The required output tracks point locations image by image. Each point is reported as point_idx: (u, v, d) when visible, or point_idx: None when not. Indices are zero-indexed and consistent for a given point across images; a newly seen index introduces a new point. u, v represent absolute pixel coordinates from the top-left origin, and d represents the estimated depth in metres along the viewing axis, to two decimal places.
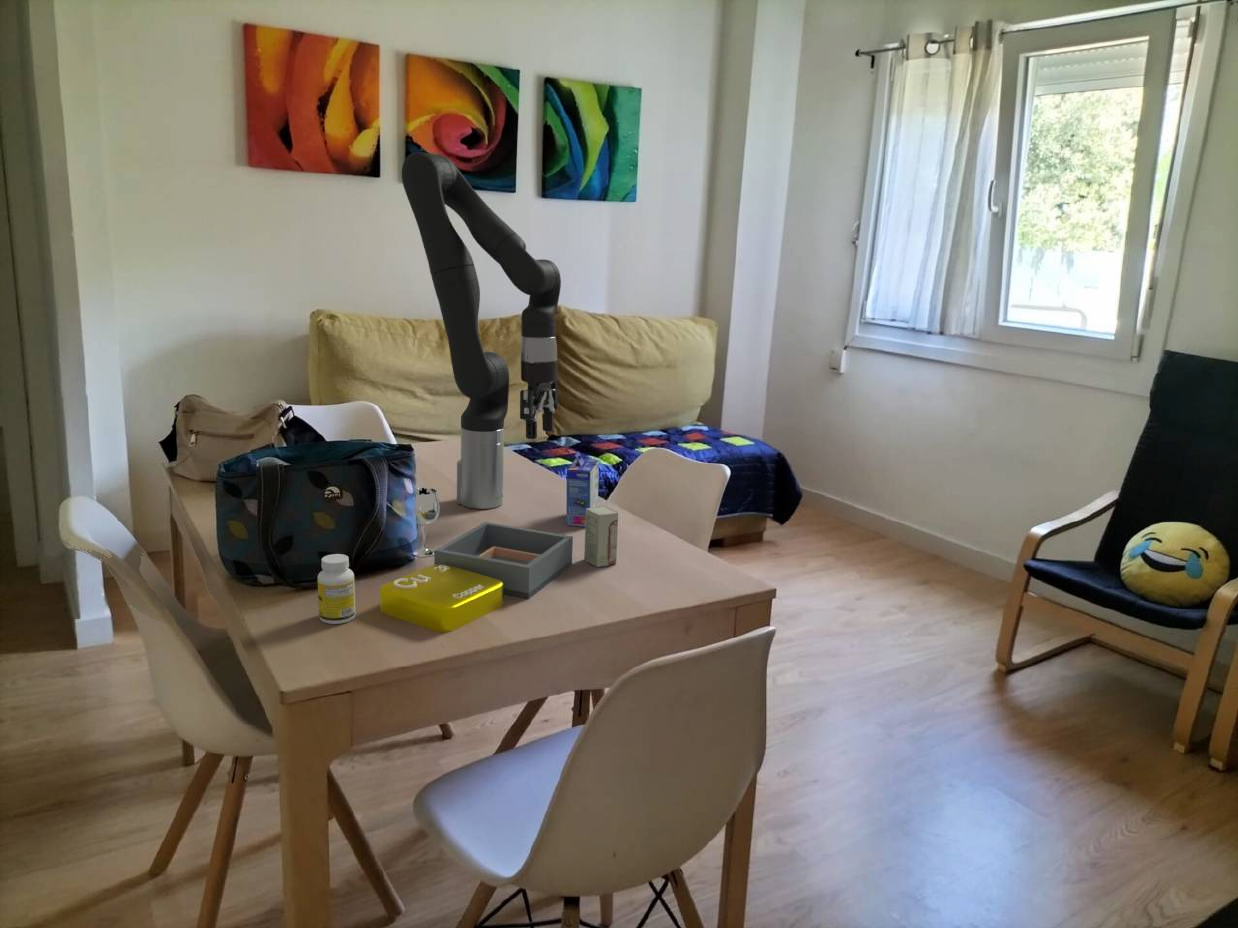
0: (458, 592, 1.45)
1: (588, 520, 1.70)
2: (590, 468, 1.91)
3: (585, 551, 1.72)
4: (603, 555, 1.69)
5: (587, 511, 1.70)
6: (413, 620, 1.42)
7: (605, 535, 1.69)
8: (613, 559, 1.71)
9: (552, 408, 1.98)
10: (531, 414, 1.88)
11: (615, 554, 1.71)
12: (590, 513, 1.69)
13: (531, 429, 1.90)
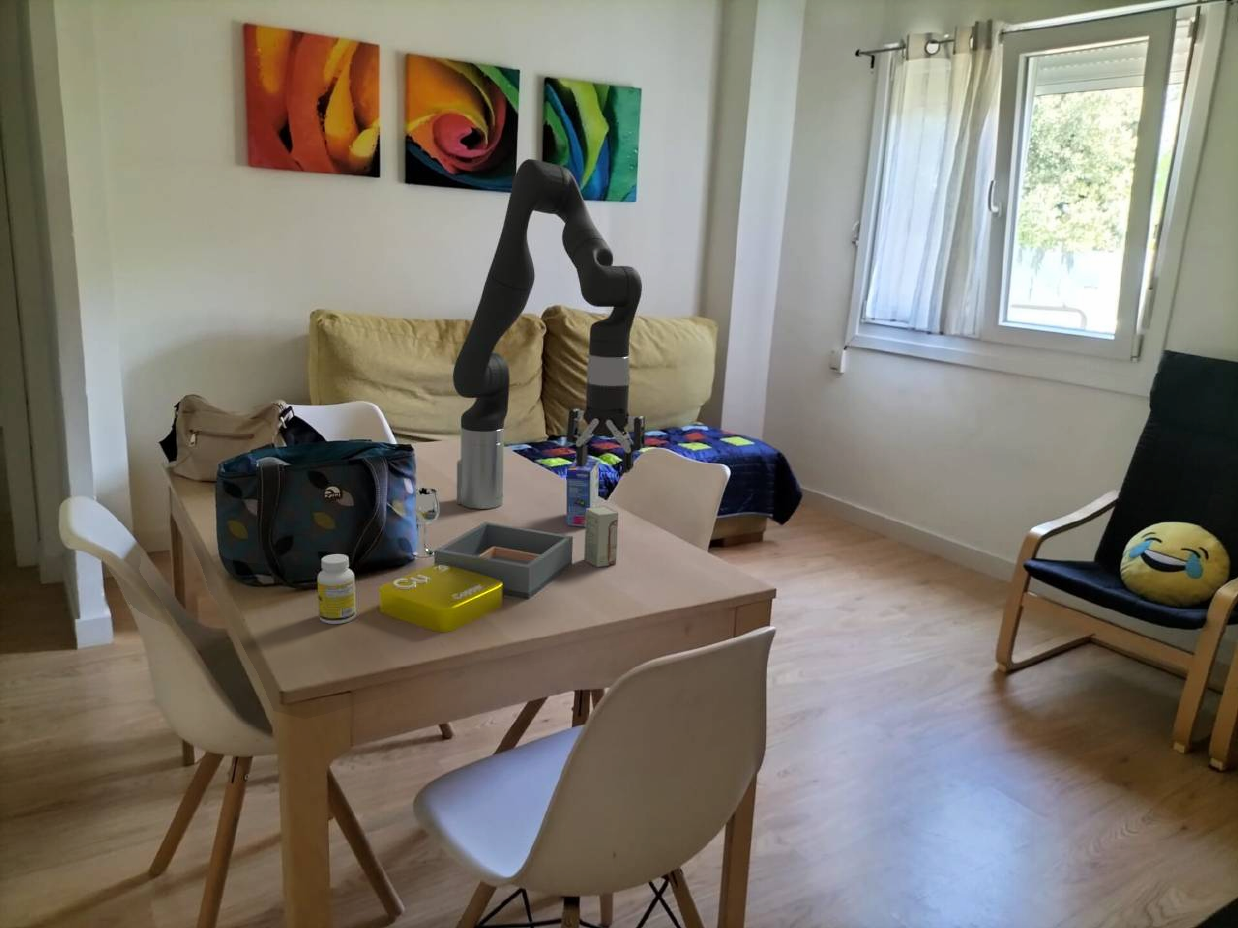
0: (458, 592, 1.45)
1: (588, 520, 1.70)
2: (590, 468, 1.91)
3: (585, 551, 1.72)
4: (603, 555, 1.69)
5: (587, 511, 1.70)
6: (413, 620, 1.42)
7: (605, 535, 1.69)
8: (613, 559, 1.71)
9: None
10: None
11: (615, 554, 1.71)
12: (590, 513, 1.69)
13: (633, 460, 1.66)
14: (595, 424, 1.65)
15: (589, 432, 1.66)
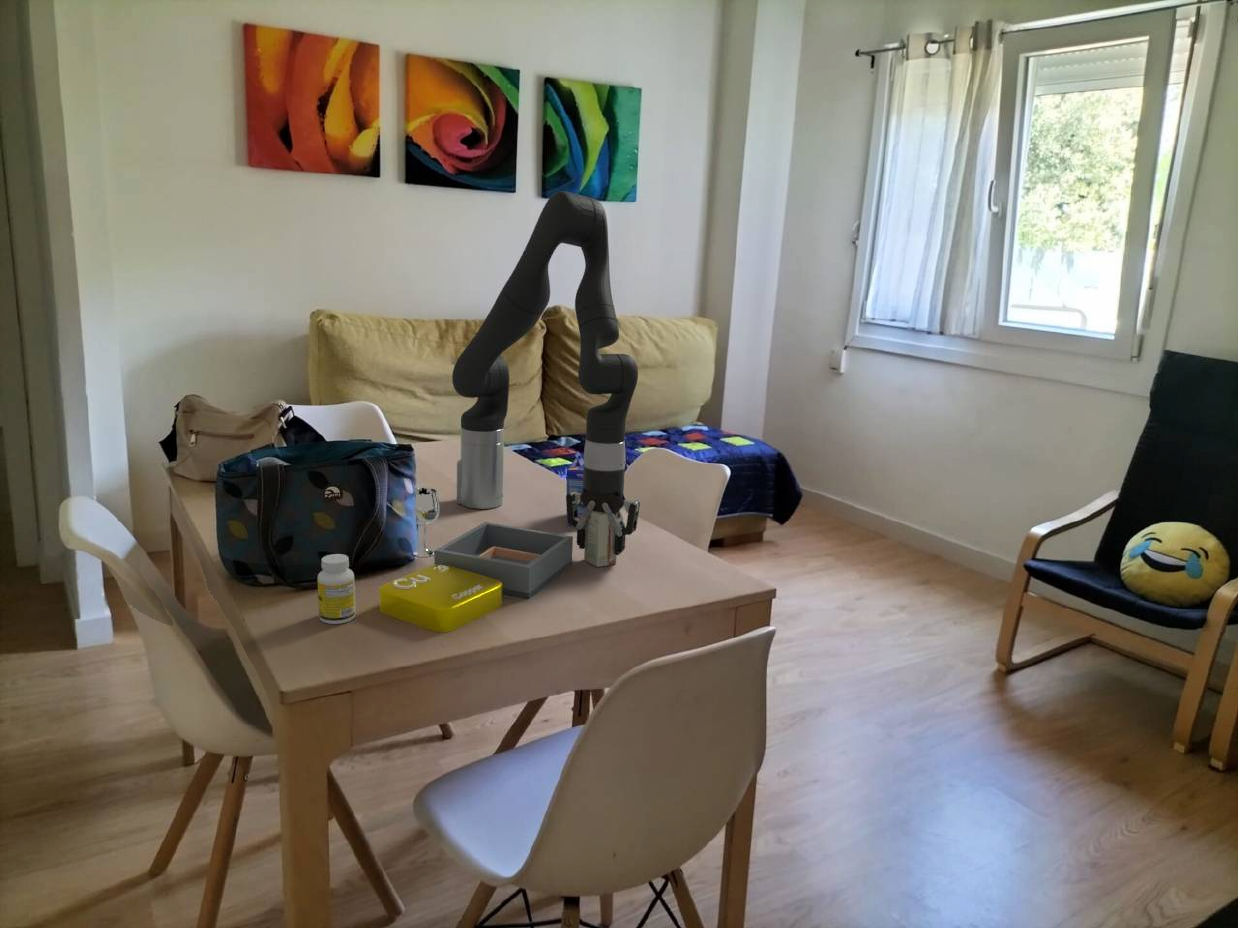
0: (457, 592, 1.45)
1: (588, 520, 1.70)
2: None
3: (585, 551, 1.72)
4: (603, 554, 1.69)
5: None
6: (412, 620, 1.42)
7: (605, 535, 1.69)
8: (613, 559, 1.71)
9: None
10: None
11: None
12: None
13: (624, 543, 1.70)
14: (592, 506, 1.68)
15: (587, 514, 1.69)
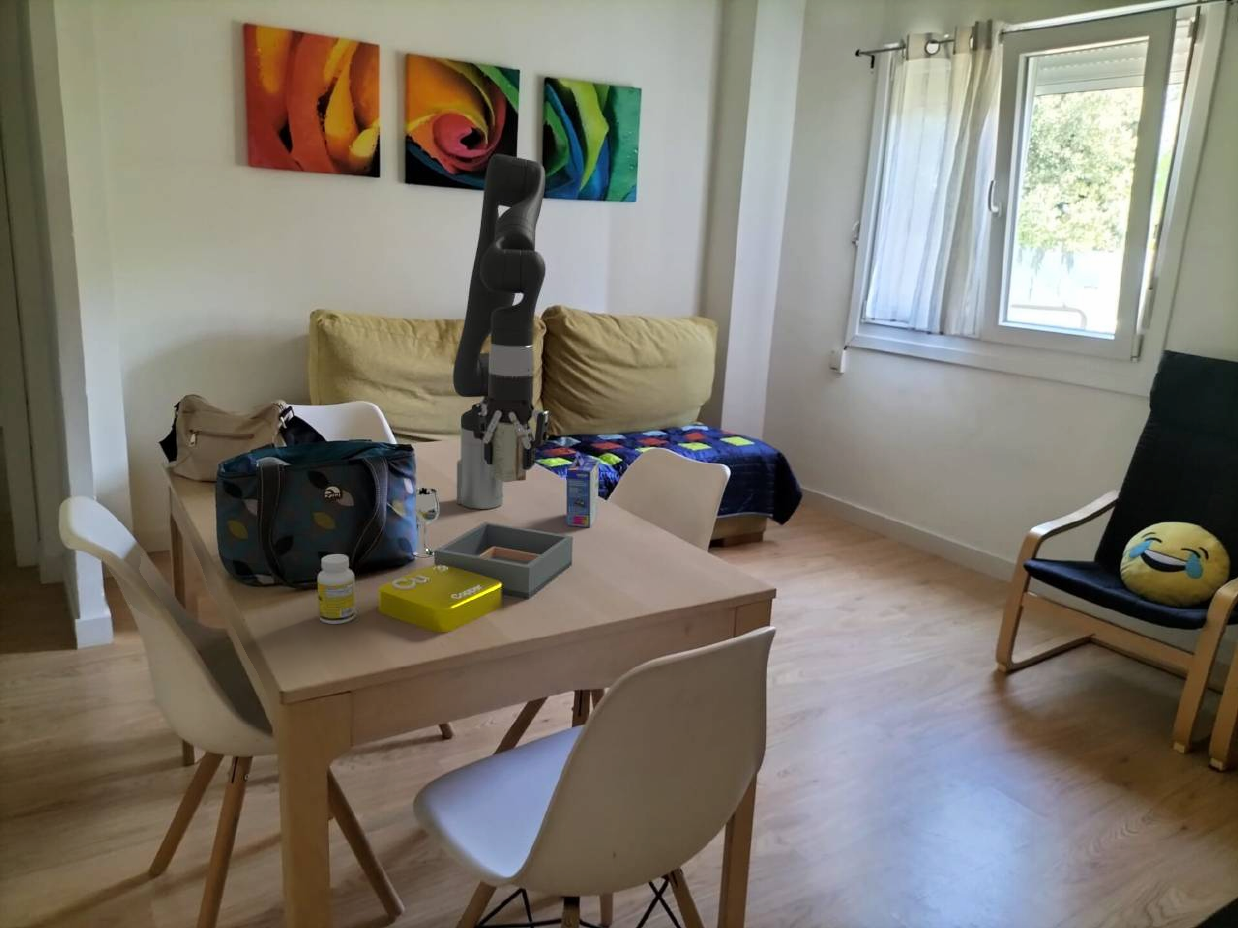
0: (457, 593, 1.45)
1: (495, 432, 1.59)
2: (590, 468, 1.91)
3: (493, 467, 1.61)
4: (511, 469, 1.58)
5: None
6: (412, 620, 1.42)
7: (512, 448, 1.57)
8: (522, 474, 1.59)
9: None
10: None
11: None
12: None
13: (534, 457, 1.59)
14: (498, 416, 1.57)
15: (494, 426, 1.58)
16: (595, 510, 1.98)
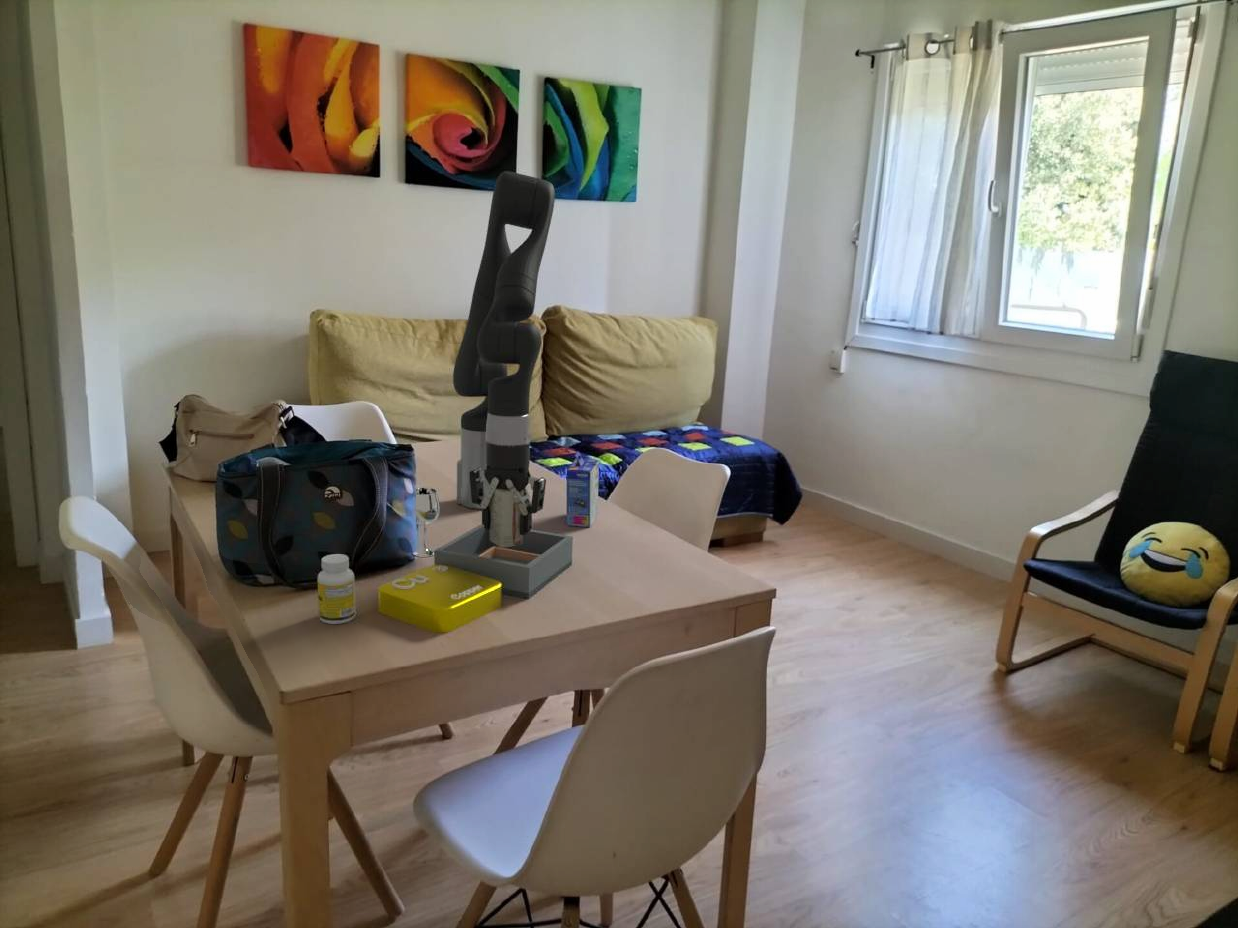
0: (456, 593, 1.45)
1: (492, 498, 1.61)
2: (590, 468, 1.91)
3: (490, 531, 1.63)
4: (508, 534, 1.60)
5: None
6: (411, 620, 1.42)
7: (509, 514, 1.60)
8: (519, 539, 1.62)
9: None
10: None
11: None
12: None
13: (531, 522, 1.61)
14: (495, 483, 1.59)
15: (491, 492, 1.60)
16: (595, 510, 1.98)
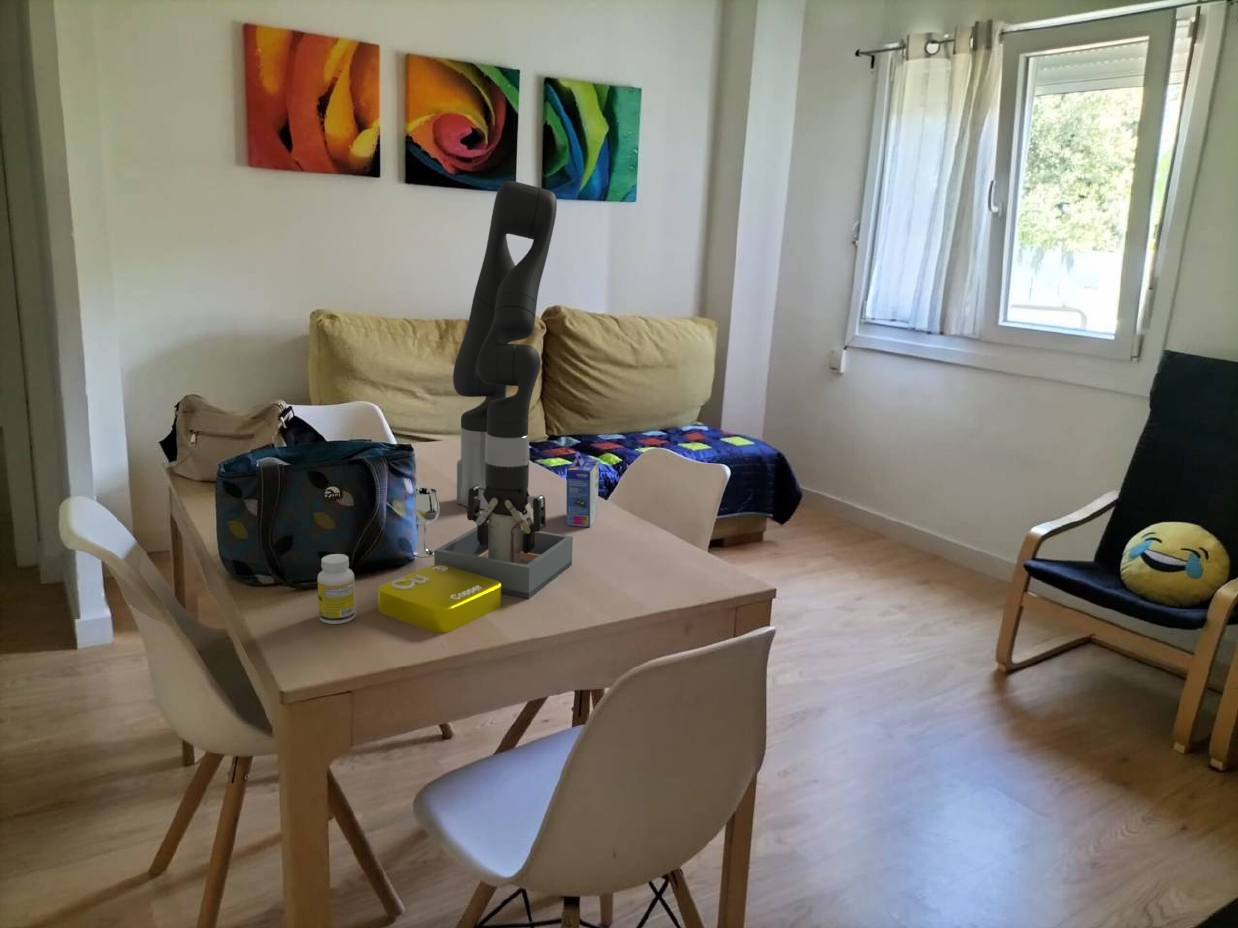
0: (456, 593, 1.45)
1: (490, 523, 1.63)
2: (590, 468, 1.91)
3: (488, 555, 1.65)
4: (506, 559, 1.62)
5: None
6: (411, 621, 1.42)
7: (507, 539, 1.61)
8: None
9: None
10: None
11: (519, 559, 1.63)
12: (492, 515, 1.62)
13: (534, 540, 1.62)
14: (494, 504, 1.60)
15: (489, 511, 1.61)
16: (595, 510, 1.98)
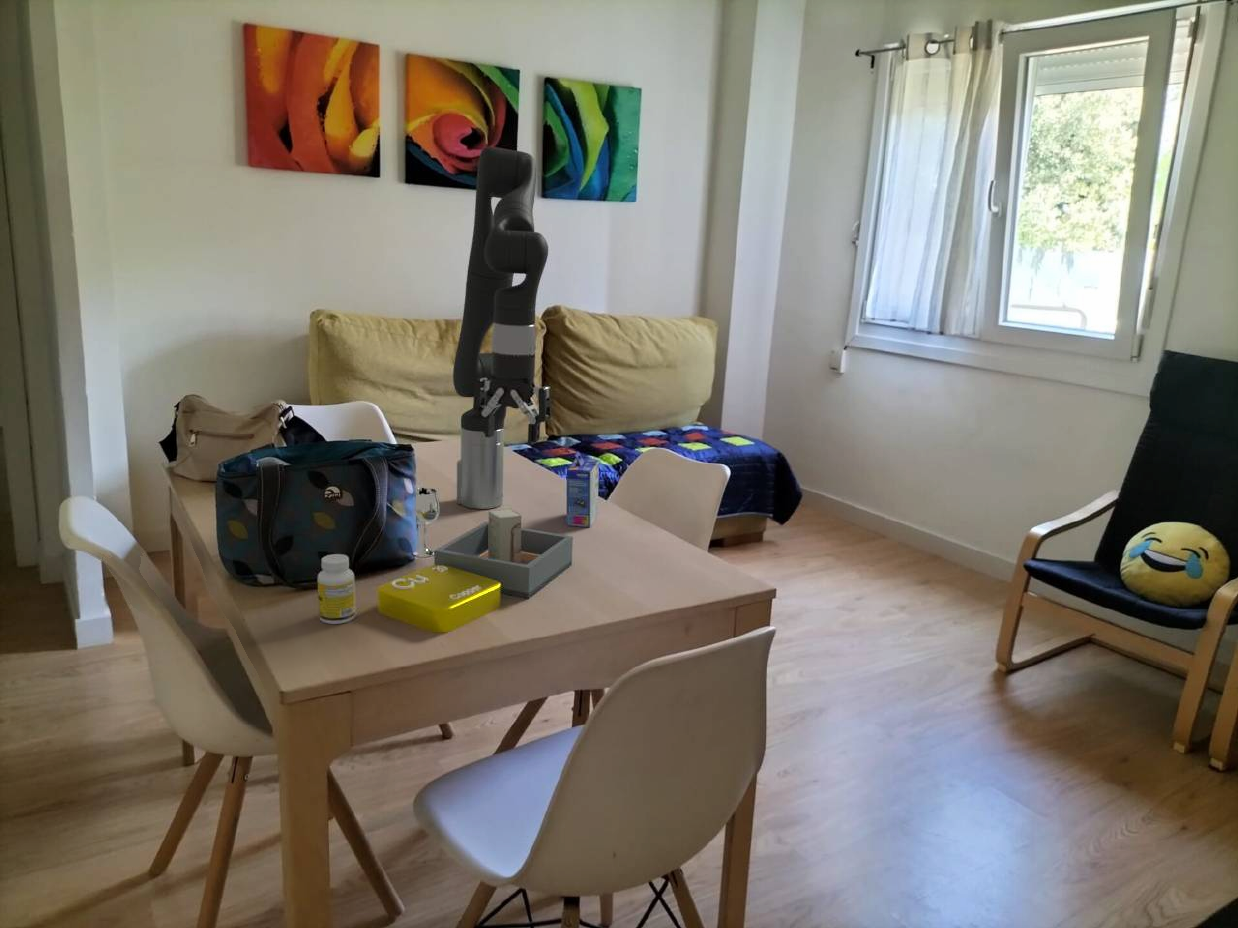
0: (455, 593, 1.45)
1: (490, 523, 1.63)
2: (590, 468, 1.91)
3: (488, 555, 1.65)
4: (506, 559, 1.62)
5: (489, 514, 1.63)
6: (410, 621, 1.42)
7: (507, 539, 1.61)
8: None
9: None
10: None
11: (519, 559, 1.63)
12: (492, 515, 1.62)
13: (539, 432, 1.62)
14: (500, 394, 1.61)
15: (494, 402, 1.62)
16: (595, 510, 1.98)
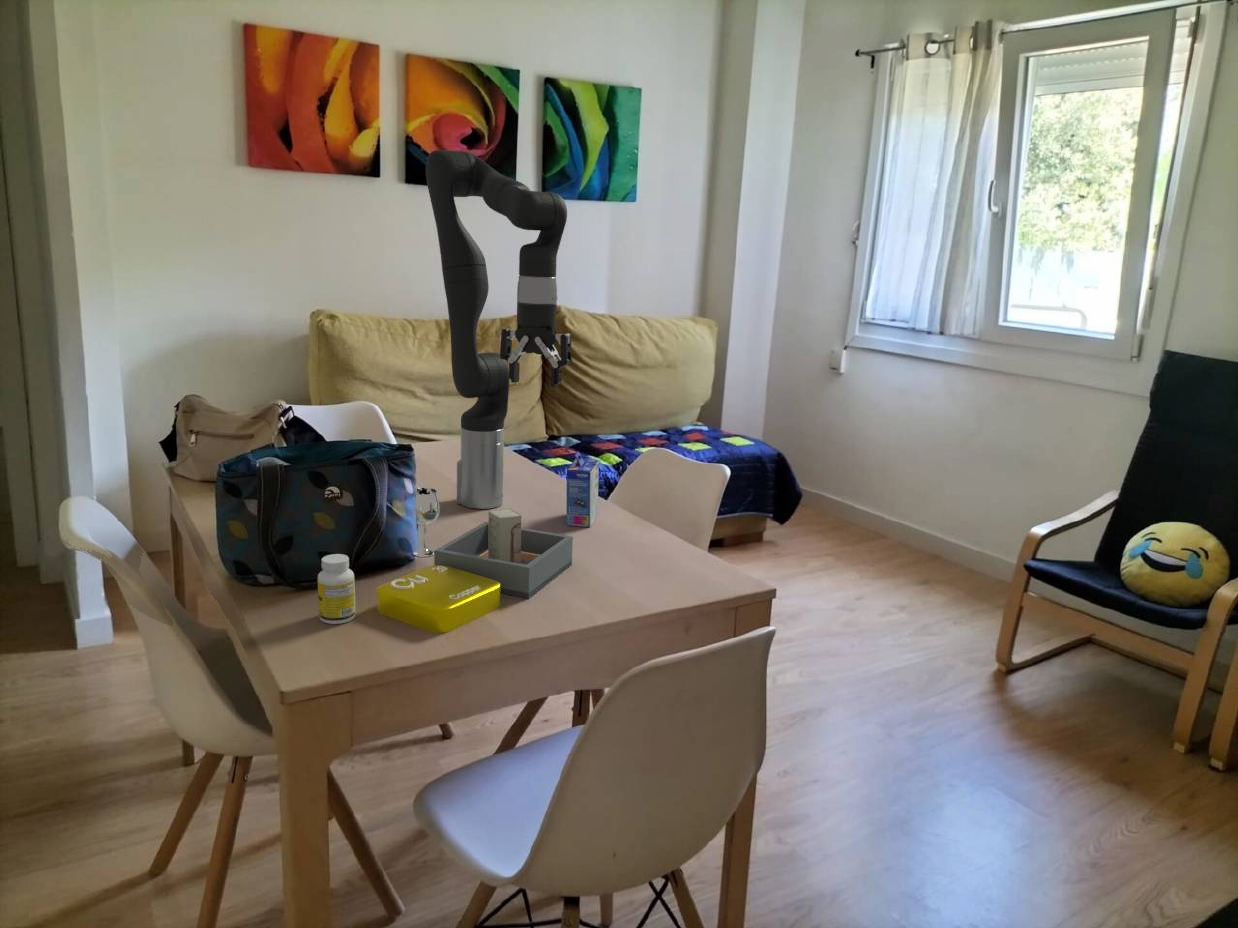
0: (455, 593, 1.45)
1: (490, 523, 1.63)
2: (590, 468, 1.91)
3: (488, 555, 1.65)
4: (506, 559, 1.62)
5: (489, 514, 1.63)
6: (410, 621, 1.42)
7: (507, 539, 1.61)
8: None
9: None
10: None
11: (519, 559, 1.63)
12: (492, 515, 1.62)
13: None
14: (525, 341, 1.77)
15: (520, 349, 1.78)
16: (595, 510, 1.98)
